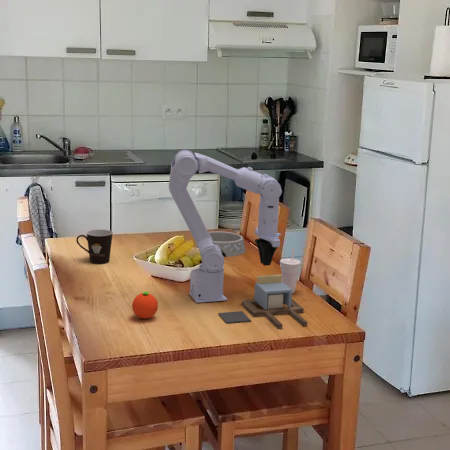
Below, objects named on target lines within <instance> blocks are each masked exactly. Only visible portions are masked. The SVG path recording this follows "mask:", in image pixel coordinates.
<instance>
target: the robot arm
mask: <svg viewBox="0 0 450 450" xmlns="http://www.w3.org/2000/svg"><path fill="white" fill-rule="evenodd" d="M170 164H171V165H170V174H169V181H168V190H169V193H170V194H171V197H172V199H173V201H174V202H175V204H176V206H177V208H178V210H179V213H180V215H181V216H182V218H183V219H184V220H183V221H184V222H185V224H186V226H187V228H188V230H189V232H190V234H191V236H192V237H193V240H194V242H195V244H196V246H198V248H199V251H200V253H199V255H200V258H201V263H200V264H199V266H198V268H195V269H192V270H191V272H190V279H189V280H190V282H189V283H190V284H189V286H190V287H189V296H190V297H191V298H192V299H193V300H194V301H195V303H210V302H212V303H213V302H223V301H224V302H225V301H228V298H227V297H226V295H224V277H225V276H224V275H225V273H224V272H225V266H224V264H225V257H224V255H223V253H222V252H221V248H220V247H219V245H217V244H216V243H215V242H214V241H213V240H212V238H211V236H210V234H209V232H210V231H209V230H208V229H207V227H206V225H205V222H204V220H203V219H202V217H201V214H200V212H199V211H198V209H197V207H196V205H195V203H194V201H193V198H192V197H191V195H190V193H189V191H188V189H187V188H188V186H189V185H188V184H189V183H190V180H191V178H193V177H194V175H196V173H197V172H198V174H202V173H206V172H209V173H213V174H216V175H219V176H222V177H224V178H227V179H230V180H233V181H234V183H235V186H236V187H238V188H241V189H244V190H246V191H249V192H251V193H254V194H260V195H259V203H258V219H257V227H254V228H255V230H254V235H256V237H257V238H256V239H254V242H255V243H256V246H257V250H258V254H259V260H260V264H262V265H263V266H265V267H266V266H271V265H272V262H273V258H274V255H275V252H276V251H277V249H278V248H280V247H281V240H280V239H279V237H282V234H281V233H280V232H278V229H279V226H278V225H279V210H280V204H279V203H280V202H279V201H280V197H281V195H282V193H283V190H282V186H281V184H280V183H279V182H278V181H277V180H276V178H274V177H272V176H271V175H268V174H267V173H264V174H262V173H259V172H257V171H255V170H253V168H252V167H250V166H247V167H244V166H243V167H241V168H234V167H232V166H231V165H228V164H226V163H225V162H224V163H223V162H221V161H219V160H217V159H214V158H212V157H209V156H207V155H205V154H201V153H198V152H194V153H193V152H192V151H191V150H189V149H181V150H180V151H178V152H177V153H176V154H175V156H174V157H173V160H171V163H170Z"/></svg>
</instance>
